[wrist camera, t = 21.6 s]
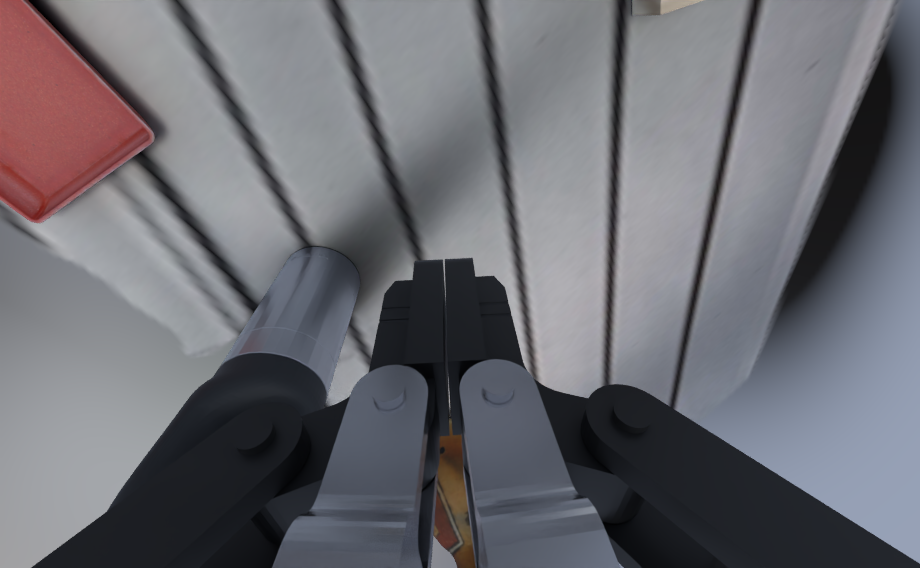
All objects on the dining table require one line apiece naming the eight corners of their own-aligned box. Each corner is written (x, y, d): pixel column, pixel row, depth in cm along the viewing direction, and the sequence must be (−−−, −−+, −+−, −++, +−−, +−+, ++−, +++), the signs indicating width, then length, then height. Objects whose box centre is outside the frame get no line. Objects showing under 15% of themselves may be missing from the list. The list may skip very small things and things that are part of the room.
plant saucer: (-40, -102, 27) (-94, -115, 24) (178, 130, 36) (157, 139, 34) (-160, 40, 31) (-217, 41, 28) (63, 213, 41) (36, 227, 38)
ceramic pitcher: (413, 462, 72) (400, 685, 48) (419, 397, 61) (406, 647, 37) (511, 464, 75) (546, 679, 50) (534, 401, 63) (594, 641, 39)
